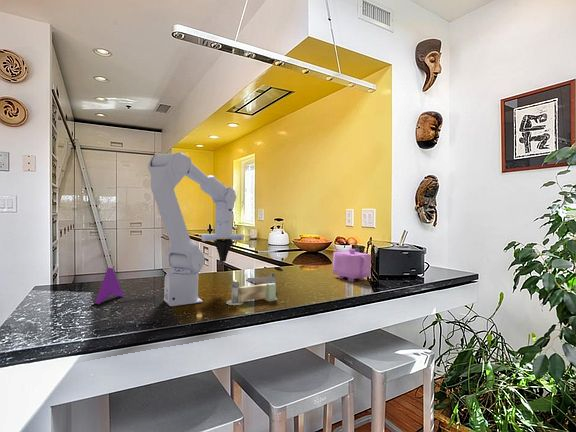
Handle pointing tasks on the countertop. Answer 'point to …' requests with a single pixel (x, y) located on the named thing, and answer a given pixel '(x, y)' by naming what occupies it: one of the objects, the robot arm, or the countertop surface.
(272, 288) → the latch post
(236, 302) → the hinge post
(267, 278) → the caliper
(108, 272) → the arrowhead
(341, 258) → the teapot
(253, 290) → the gate
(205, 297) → the countertop surface
